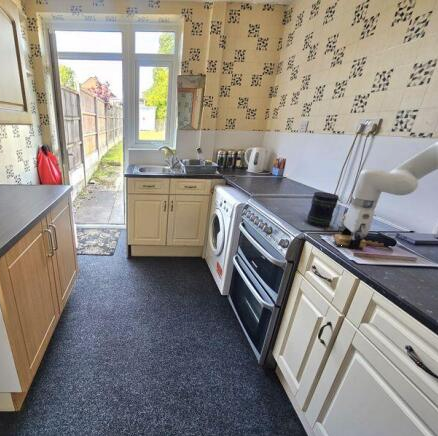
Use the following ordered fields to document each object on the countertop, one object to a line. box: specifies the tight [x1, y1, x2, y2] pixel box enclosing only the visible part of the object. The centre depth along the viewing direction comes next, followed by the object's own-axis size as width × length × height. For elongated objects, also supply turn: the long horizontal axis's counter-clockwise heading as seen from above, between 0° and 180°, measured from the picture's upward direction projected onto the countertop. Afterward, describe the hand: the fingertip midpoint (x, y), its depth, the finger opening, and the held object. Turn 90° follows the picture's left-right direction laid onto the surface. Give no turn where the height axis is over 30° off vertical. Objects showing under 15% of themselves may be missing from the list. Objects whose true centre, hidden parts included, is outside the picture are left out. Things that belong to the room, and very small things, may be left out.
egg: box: [337, 212, 347, 229], centre depth 118 cm, size 6×6×7 cm
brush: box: [333, 233, 385, 252], centre depth 97 cm, size 16×5×4 cm, turn 72°
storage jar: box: [306, 191, 340, 229], centre depth 119 cm, size 10×10×15 cm
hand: (348, 244), depth 99 cm, fingers open, 7 cm apart
